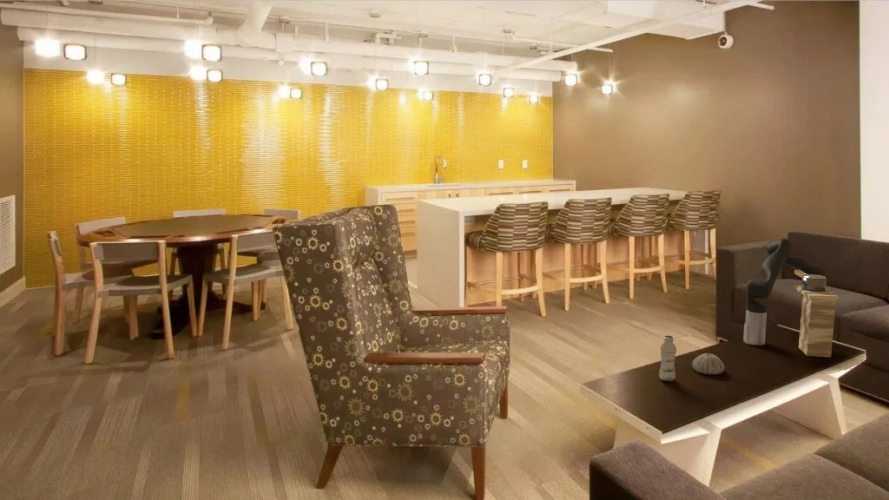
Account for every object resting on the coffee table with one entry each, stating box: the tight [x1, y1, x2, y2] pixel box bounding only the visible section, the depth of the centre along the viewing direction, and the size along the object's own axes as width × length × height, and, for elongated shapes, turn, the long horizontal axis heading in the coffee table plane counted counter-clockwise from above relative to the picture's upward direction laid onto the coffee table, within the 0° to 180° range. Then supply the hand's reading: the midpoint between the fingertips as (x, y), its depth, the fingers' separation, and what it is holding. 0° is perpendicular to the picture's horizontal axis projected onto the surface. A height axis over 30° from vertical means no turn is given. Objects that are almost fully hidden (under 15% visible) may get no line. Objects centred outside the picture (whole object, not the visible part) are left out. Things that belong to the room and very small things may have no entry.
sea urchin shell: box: [691, 352, 725, 376], centre depth 248 cm, size 13×14×8 cm
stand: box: [793, 284, 839, 358], centre depth 269 cm, size 22×12×30 cm, turn 164°
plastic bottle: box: [658, 335, 677, 382], centre depth 238 cm, size 6×7×20 cm
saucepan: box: [793, 269, 827, 292], centre depth 278 cm, size 29×10×7 cm, turn 164°
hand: (816, 308), depth 289 cm, fingers open, 8 cm apart
